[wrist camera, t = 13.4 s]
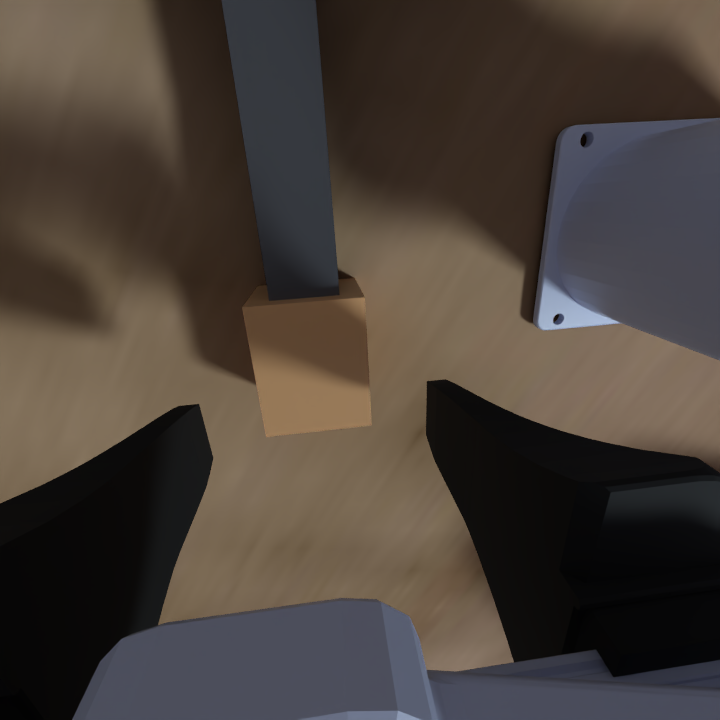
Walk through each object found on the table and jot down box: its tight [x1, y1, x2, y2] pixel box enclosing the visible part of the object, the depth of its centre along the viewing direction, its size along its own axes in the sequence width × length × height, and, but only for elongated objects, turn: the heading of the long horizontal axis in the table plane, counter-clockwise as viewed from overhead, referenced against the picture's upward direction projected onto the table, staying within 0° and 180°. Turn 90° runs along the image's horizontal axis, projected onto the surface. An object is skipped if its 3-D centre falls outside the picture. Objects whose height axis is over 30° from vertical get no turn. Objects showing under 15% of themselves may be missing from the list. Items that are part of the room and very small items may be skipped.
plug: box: [222, 0, 372, 437], centre depth 13 cm, size 15×4×4 cm, turn 3°
